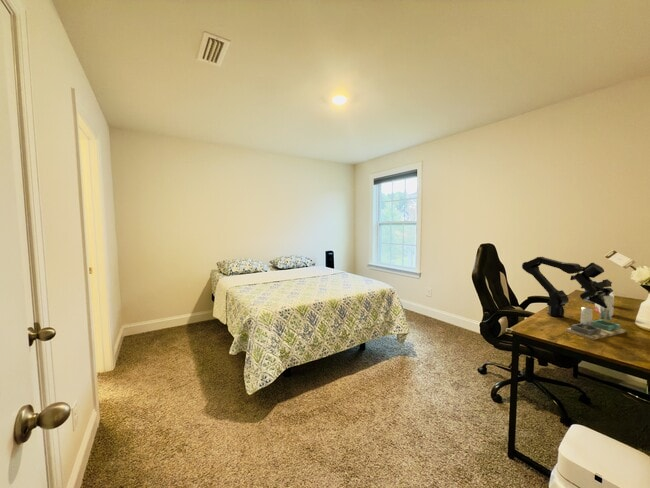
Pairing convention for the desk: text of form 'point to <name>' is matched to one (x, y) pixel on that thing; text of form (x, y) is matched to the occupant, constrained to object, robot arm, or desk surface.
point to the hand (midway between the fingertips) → (609, 307)
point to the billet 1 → (586, 318)
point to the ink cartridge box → (597, 307)
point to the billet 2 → (606, 312)
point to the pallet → (596, 329)
